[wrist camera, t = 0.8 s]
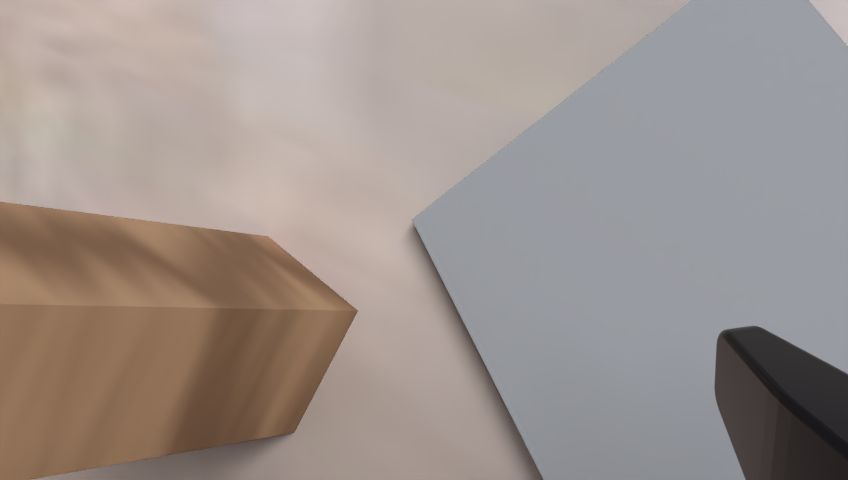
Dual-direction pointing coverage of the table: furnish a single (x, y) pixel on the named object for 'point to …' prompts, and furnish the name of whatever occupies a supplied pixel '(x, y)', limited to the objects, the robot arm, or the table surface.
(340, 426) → the table surface
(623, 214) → the coaster
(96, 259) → the walnut block
